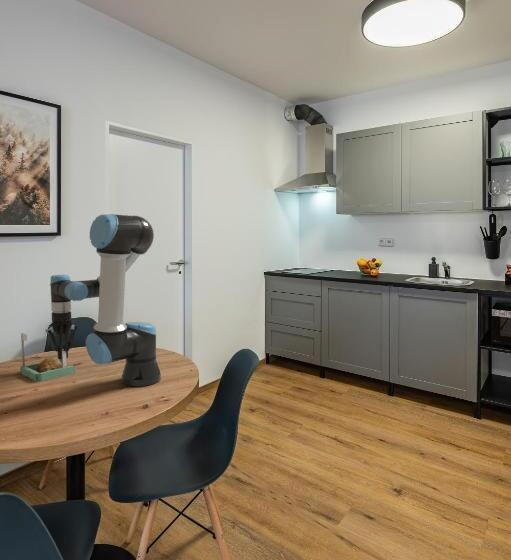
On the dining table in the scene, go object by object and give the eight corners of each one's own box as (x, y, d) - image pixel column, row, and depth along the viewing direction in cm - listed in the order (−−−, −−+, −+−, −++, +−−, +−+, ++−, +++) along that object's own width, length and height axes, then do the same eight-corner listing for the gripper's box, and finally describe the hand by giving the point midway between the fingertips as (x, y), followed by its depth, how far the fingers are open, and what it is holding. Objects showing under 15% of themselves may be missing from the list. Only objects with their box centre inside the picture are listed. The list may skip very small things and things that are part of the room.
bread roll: (65, 379, 176) (69, 360, 179) (52, 376, 167) (56, 356, 169) (43, 378, 177) (48, 359, 180) (29, 375, 168) (33, 355, 170)
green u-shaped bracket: (74, 373, 173) (73, 333, 172) (37, 382, 162) (35, 339, 160) (56, 365, 183) (55, 327, 182) (20, 373, 172) (18, 333, 170)
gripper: (72, 308, 183) (73, 360, 185) (41, 312, 173) (43, 367, 175) (80, 310, 178) (82, 364, 180) (49, 314, 168) (51, 371, 170)
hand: (63, 365), depth 177 cm, fingers closed
